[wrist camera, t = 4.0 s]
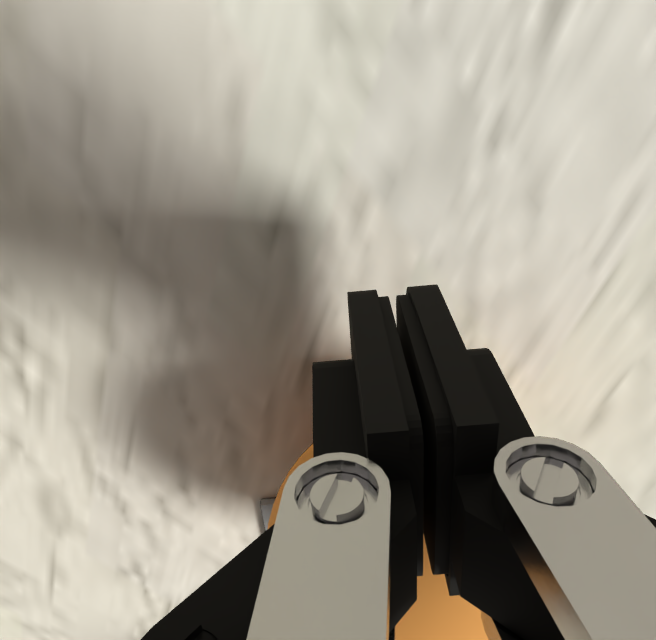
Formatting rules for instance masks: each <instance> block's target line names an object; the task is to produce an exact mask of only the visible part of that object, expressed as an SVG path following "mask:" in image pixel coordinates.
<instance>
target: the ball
mask: <svg viewBox="0 0 656 640" xmlns="http://www.w3.org/2000/svg"><path fill="white" fill-rule="evenodd" d="M311 458H313V444H312V445H311V446H310V447H309V448H308V449H307V450H306V451H305V452H304V453H303V454H302V455H301V456H300V457H299V459H298V460H297V461H296V463H295V464H294V465H293V467H292V468H291V470H290V471H289V472H288V474H287V476H286V478H285V480H284V481H283V483H282V485H281V487H280V489H279V491H278V494H277V496H276V499H275V501H274V504H273V507H272V511H271V515H270V519H269V522H268V529H269V528H270V527H271V526H272V525H274V524H275V521H276V517H277V513H278V509H279V505H280V501H281V497H282V493H283V489H284V486H285V484H286V482H287V480H288V478H289V476H290V475H291V474H292V473H293V472H294V471H295V469H296V468H297V467H298V466H300V465H301V464H303V463H305V462H306V461H308V460H309V459H311ZM268 529H267V530H268ZM396 640H489V639H488V637H487V635H486V633H485V630H484V627H483V623H482V619H481V610H480V609H478V608H477V607H475V606H474V605H472V604H471V603H469V602H468V601H466V600H465V599H463V598H462V597H460V595H456V596H449V591H448V587H447V583H446V579H445V574H440V575H433V573H432V570H431V566H430V561H429V557H428V552H427V547H426V543H425V538H424V533H423V576H417V600H416V602H415V603H414V604H413V605H412V606H411V608H410V609H409V610H408V611H407V612H406V614H405V615H404V616H403V617H402V618H401V620H400V621H399V622H398V623H397V624H396Z"/></svg>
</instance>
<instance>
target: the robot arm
mask: <svg viewBox="0 0 656 640" xmlns="http://www.w3.org/2000/svg"><path fill="white" fill-rule="evenodd" d="M348 309H349V323H350V338H351V352H352V359H349V360H337V361H325V362H313V366H312V374H313V458H311V459H309V460H308V461H306V462H305V463H303V464H301V465H300V466H298V467H297V468H296V469H295V471H294V472H293V473H292V474H291V475H290V476H289V478H288V480H287V482H286V484H285V486H284V489H283V493H282V497H281V501H280V505H279V509H278V513H277V517H276V521H275V524H274V525H272V526H271V527H270V528H269V529H268V530H266V531H265V532H264V533H263V534H262V535H261V536H259V537H258V538H257V539H256V540H255V541H253V542H252V543H251V544H250V545H249V546H248V547H246V548H245V549H244V550H243V551H242V552H240V553H239V554H238V555H237V556H236V557H235V558H233V559H232V560H231V561H230V562H229V563H227V564H226V565H225V566H224V567H223V568H222V569H220V570H219V571H218V572H217V573H216V574H214V575H213V576H212V577H211V578H210V579H209V580H207V581H206V582H205V583H204V584H203V585H201V586H200V587H199V588H198V589H197V590H196V591H194V592H193V593H192V594H191V595H190V596H188V597H187V598H186V599H185V600H184V601H183V602H181V603H180V604H179V605H178V606H177V607H175V608H174V609H173V610H172V611H171V612H170V613H168V614H167V615H166V616H165V617H164V618H163V619H161V620H160V621H159V622H158V623H157V624H155V625H154V626H153V627H152V628H151V629H150V630H149V631H148V632H147V633H146V634H145V636H144V637H143V638H142V639H141V640H396V624H397V623H398V622H399V621H400V620H401V618H402V617H403V616H404V615H405V614H406V612H407V611H408V610H409V609H410V608H411V606H412V605H413V604H414V603H415V602H416V600H417V576H423V533H424V538H425V543H426V547H427V552H428V557H429V561H430V566H431V570H432V573H433V575H440V574H445V579H446V583H447V587H448V591H449V596H456V595H460V597H462V598H463V599H465V600H466V601H468V602H469V603H471V604H472V605H474V606H475V607H477V608H478V609H480V610H481V619H482V623H483V627H484V630H485V633H486V635H487V637H488V639H489V640H656V520H655V519H653V518H651V517H649V516H647V515H645V514H643V513H642V511H641V510H640V509H639V508H638V507H637V506H636V504H635V503H634V502H633V501H632V500H631V499H630V497H629V496H628V495H627V494H626V493H625V491H624V490H623V489H622V488H621V487H620V486H619V484H618V483H617V482H616V481H615V480H614V479H613V477H612V476H611V475H610V474H609V473H608V472H607V470H606V469H605V468H604V467H603V466H602V464H601V463H600V462H599V461H597V460H596V459H595V458H594V457H593V456H592V455H591V454H590V453H589V452H587V451H585V450H583V449H582V448H580V447H578V446H576V445H574V444H572V443H569V442H566V441H563V440H560V439H557V438H549V437H542V436H537V437H535V436H534V434H533V432H532V430H531V428H530V426H529V424H528V422H527V420H526V418H525V416H524V414H523V413H522V411H521V409H520V407H519V405H518V403H517V401H516V399H515V397H514V395H513V393H512V391H511V389H510V387H509V385H508V383H507V381H506V379H505V378H504V376H503V374H502V372H501V370H500V368H499V366H498V364H497V362H496V360H495V358H494V356H493V354H492V353H491V351H490V350H489V349H487V348H481V349H469V350H466V347H465V345H464V343H463V341H462V338H461V336H460V334H459V332H458V329H457V327H456V325H455V323H454V321H453V318H452V316H451V314H450V312H449V309H448V307H447V305H446V303H445V300H444V298H443V296H442V294H441V292H440V289H439V287H438V285H427V286H415V287H407V292H406V295H398V296H397V297H396V314H397V327H396V323H395V319H394V316H393V312H392V308H391V304H390V301H389V297H388V296H386V297H378V295H377V291H376V290H368V291H356V292H348Z"/></svg>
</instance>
